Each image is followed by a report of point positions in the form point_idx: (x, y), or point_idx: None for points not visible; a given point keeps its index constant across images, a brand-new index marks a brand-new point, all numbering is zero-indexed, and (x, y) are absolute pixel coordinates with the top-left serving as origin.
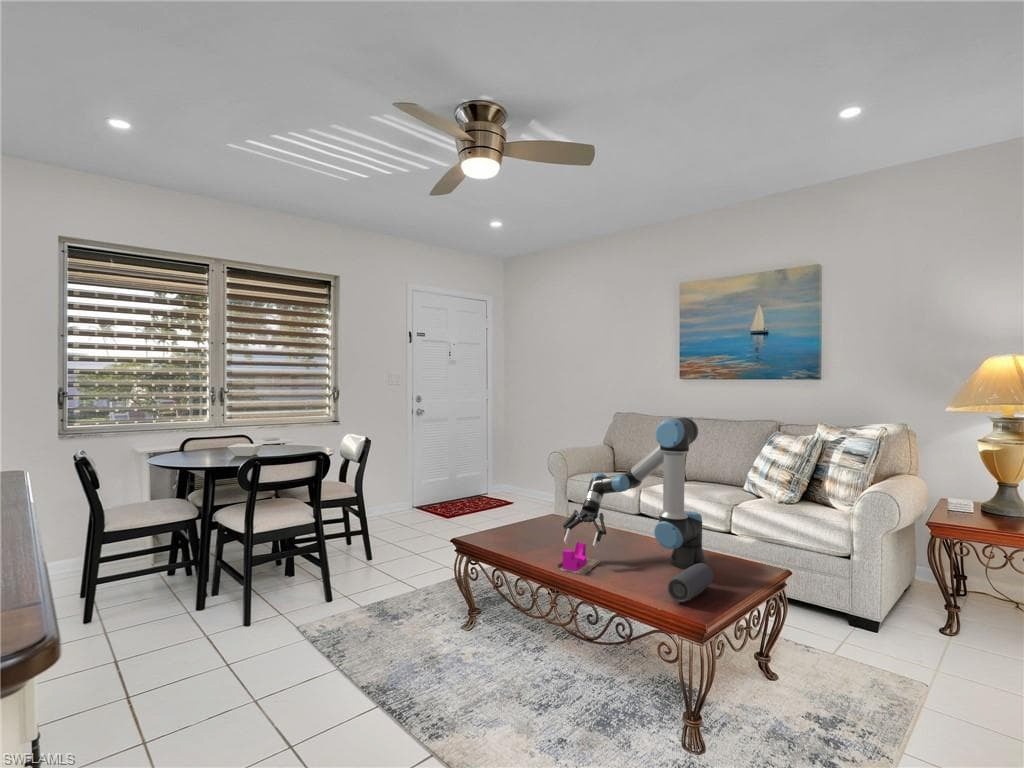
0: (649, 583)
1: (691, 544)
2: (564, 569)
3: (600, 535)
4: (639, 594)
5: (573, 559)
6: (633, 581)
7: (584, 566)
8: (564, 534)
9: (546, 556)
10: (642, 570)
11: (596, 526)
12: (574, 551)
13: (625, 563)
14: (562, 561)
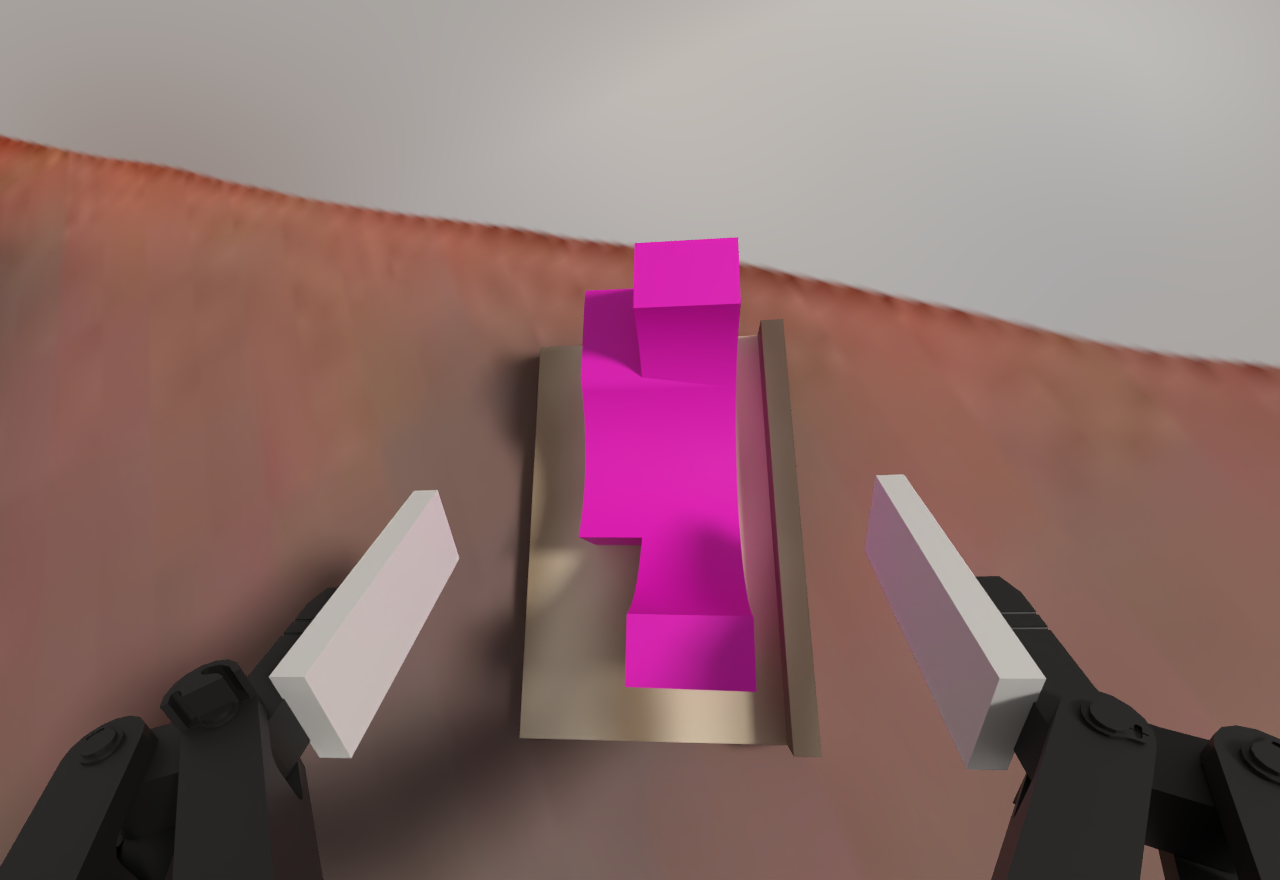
0: (89, 456)
1: None
2: None
3: (263, 668)
4: (148, 256)
5: (623, 305)
6: (193, 433)
7: None
8: (999, 580)
9: (1108, 630)
10: None
11: (235, 846)
12: (742, 566)
13: None
14: (784, 402)
